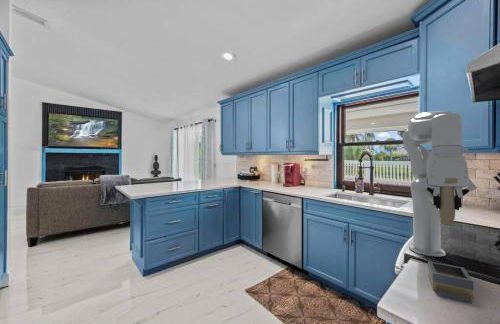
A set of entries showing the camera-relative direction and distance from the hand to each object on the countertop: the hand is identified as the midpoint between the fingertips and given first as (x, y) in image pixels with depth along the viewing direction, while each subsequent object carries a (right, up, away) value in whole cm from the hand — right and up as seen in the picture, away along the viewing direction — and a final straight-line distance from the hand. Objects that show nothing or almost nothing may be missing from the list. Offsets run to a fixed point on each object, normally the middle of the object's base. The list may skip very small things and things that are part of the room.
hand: (446, 208), depth 73 cm
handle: (0, -5, 0) cm, 5 cm away
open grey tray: (-2, -24, -2) cm, 24 cm away
